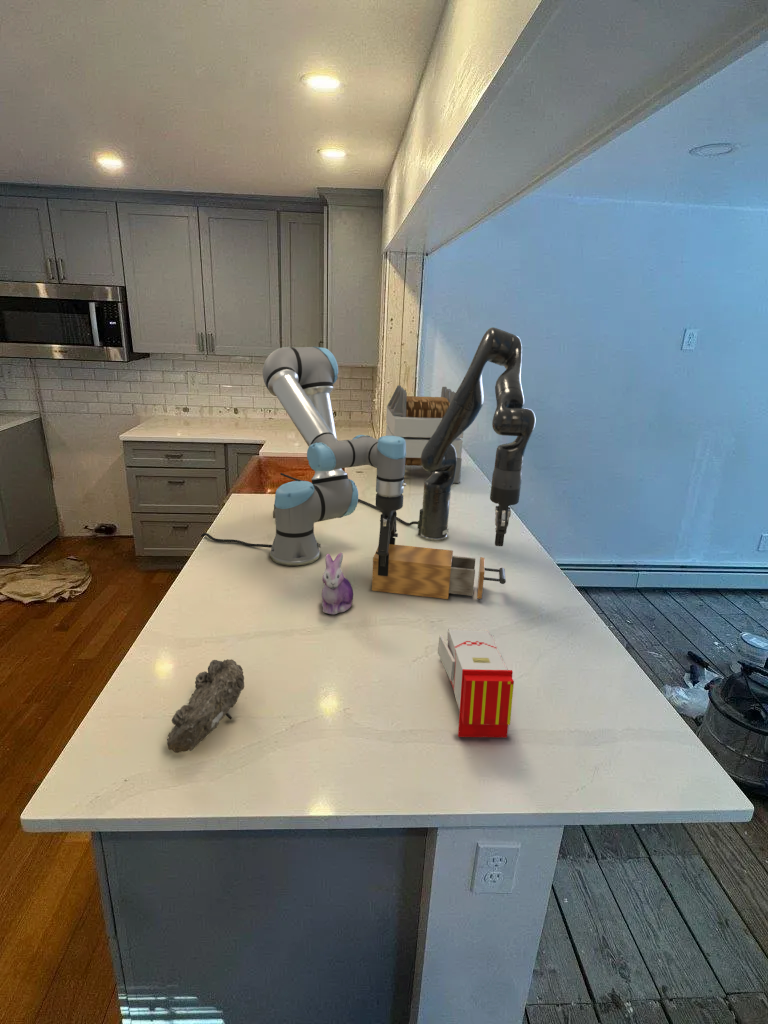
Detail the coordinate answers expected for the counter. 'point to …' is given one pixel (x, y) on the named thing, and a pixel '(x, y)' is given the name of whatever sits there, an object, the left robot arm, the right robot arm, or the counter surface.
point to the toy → (478, 682)
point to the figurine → (335, 587)
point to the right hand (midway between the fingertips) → (498, 545)
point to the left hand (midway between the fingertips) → (386, 566)
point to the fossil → (206, 705)
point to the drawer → (470, 576)
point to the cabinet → (415, 571)
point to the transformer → (419, 423)
